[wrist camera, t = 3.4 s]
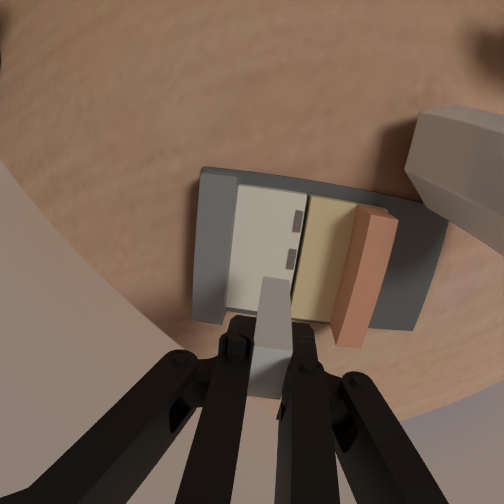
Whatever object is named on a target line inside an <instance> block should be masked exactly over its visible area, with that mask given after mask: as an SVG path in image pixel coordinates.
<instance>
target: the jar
mask: <svg viewBox="0 0 504 504" xmlns="http://www.w3.org/2000/svg"><path fill="white" fill-rule="evenodd" d="M404 170H405V172H406V174H407V176H408V177H409V179H410V180H411V182H412V184H413V185H414V187H415V189H416V190H417V192H418V194H419V195H420V197H421V199H422V201H423V202H424V204H425V206H426V207H427V208H428V209H430V210H431V211H433V212H435V213H437V214H438V215H440V216H442V217H443V218H445V219H447V220H449V221H450V222H452V223H453V224H455V225H457V226H458V227H460V228H462V229H463V230H465V231H466V232H468V233H470V234H471V235H473V236H474V237H476V238H477V239H479V240H480V241H482V242H483V243H485V244H486V245H488V246H489V247H491V248H492V249H494V250H495V251H497V252H498V253H500V254H501V255H502V256H504V115H500V114H497V113H493V112H489V111H485V110H481V109H477V108H472V107H468V106H463V105H458V104H452V105H447V106H442V107H438V108H433V109H428V110H423V111H420V112H419V114H418V118H417V123H416V127H415V131H414V135H413V138H412V142H411V146H410V150H409V153H408V157H407V160H406V164H405V167H404Z"/></svg>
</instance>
